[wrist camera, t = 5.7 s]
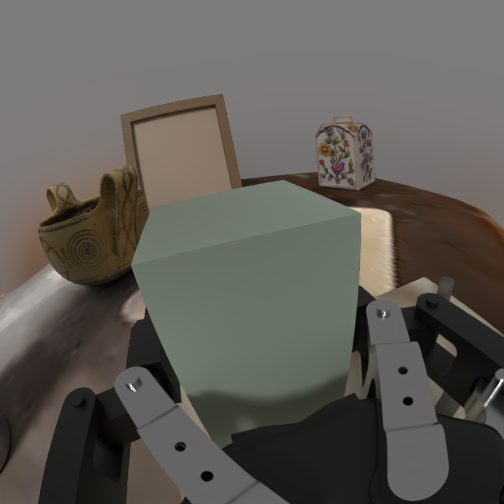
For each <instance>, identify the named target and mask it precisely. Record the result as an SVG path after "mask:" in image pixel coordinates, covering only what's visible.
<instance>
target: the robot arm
mask: <svg viewBox="0 0 504 504" xmlns="http://www.w3.org/2000/svg"><path fill="white" fill-rule="evenodd" d="M439 334H440V335H441V336H442V337H444V338H445V339H446V340H448V341H449V342H450V343H452V344H453V345H454V346H455V348H456V350H457V355H456V357H455V356H454V355H453V354H451V353H450V352H449V351H447V350H446V349H445V348H444V347H442V346H441V345H440V344H438V343H437V342H436V341H437V338H438V336H439ZM130 338H131V339H130V342H129V345H130V346H129V349H128V356H127V364H126V370H124V371H123V372H121V373H120V374H119V375H118V377H117V378H116V380H115V383H114V387H113V388H111V389H109V390H107V391H104V392H102V393H99V394H97V395H95V394H94V392H93V391H92V390H91V389H89V388H84V387H83V388H78V389H75V390H73V391H72V392H70V393H69V394H68V396H67V397H66V398H65V401H64V403H63V406H62V409H61V412H60V415H59V418H58V422H57V425H56V428H55V431H54V435H53V438H52V442H51V446H50V449H49V453H48V457H47V461H46V466H45V470H44V475H43V480H42V485H41V490H40V496H39V502H38V504H126V498H127V480H128V467H129V456H130V446H131V442H133V441H136V440H138V439H140V438H142V440H143V441H144V443H145V444H146V446H147V447H148V448H149V450H150V451H151V453H152V454H153V456H154V457H155V458H156V460H157V461H158V462H159V464H160V465H161V467H162V468H163V469H164V470H165V472H166V473H167V474H168V476H169V477H170V478H171V479H172V481H173V482H174V483H175V484H176V486H177V487H178V488H179V489H180V490H181V492H182V493H183V494H184V495H185V498H184V499H183V501H182V502H181V504H504V337H503V336H501V335H500V334H498V333H497V332H496V331H494V330H493V329H491V328H490V327H488V326H487V325H485V324H484V323H482V322H481V321H479V320H478V319H476V318H475V317H473V316H472V315H470V314H469V313H467V312H466V311H464V310H463V309H461V308H459V307H458V306H456V305H455V304H453V303H452V302H450V301H448V300H447V299H445V298H444V297H442V296H440V295H438V294H435V293H424V294H421V295H420V296H419V297H418V298H417V302H416V306H411V307H404V308H400V307H399V306H398V305H397V304H396V303H394V302H392V301H389V300H376V299H375V298H374V297H373V296H372V295H371V294H369V293H368V292H367V291H366V290H365V289H364V288H363V287H361V286H359V287H358V299H357V311H356V320H355V329H354V338H353V346H352V353H353V352H355V351H358V352H359V353H360V355H359V374H360V399H359V398H358V397H357V395H356V394H355V392H354V393H352V394H350V395H348V396H345V397H343V398H341V399H338V400H336V401H334V402H331V403H329V404H326V405H325V406H324V407H322V408H321V409H319V410H318V411H316V412H315V413H313V414H312V415H310V416H309V417H307V418H305V419H304V420H302V421H300V422H298V423H291V424H282V425H271V426H262V427H258V428H254V429H251V430H247V431H243V432H239V433H235V434H230V435H231V439H232V442H233V443H231V444H229V445H227V446H225V447H224V448H222V449H220V448H219V447H218V446H217V445H216V444H215V443H214V442H213V441H212V440H211V439H210V438H209V437H208V436H207V435H206V434H205V433H204V432H203V431H202V430H201V429H200V428H199V427H198V425H197V424H196V423H195V422H194V421H193V420H192V419H191V418H190V417H189V416H188V415H187V414H186V412H185V411H184V410H183V409H182V408H181V407H180V406H179V405H176V404H177V403H182V399H181V389H180V382H179V380H178V378H177V376H176V374H175V372H174V369H173V367H172V365H171V363H170V361H169V359H168V357H167V355H166V352H165V350H164V348H163V346H162V343H161V341H160V339H159V337H158V334H157V332H156V330H155V327H154V325H153V322H152V320H151V318H150V315H149V313H148V310H147V308H146V309H145V317H144V319H142V320H137V322H136V323H135V325H134V326H133V327H132V330H131V336H130ZM428 377H429V378H430V379H431V380H433V381H434V382H435V383H436V384H437V385H438V386H439V387H440V388H442V389H443V390H444V391H445V392H446V393H447V394H448V395H449V396H451V397H452V398H453V399H454V400H455V401H456V402H457V403H458V404H459V405H461V406H462V407H463V408H464V410H465V414H466V416H465V419H459V418H455V417H451V416H446V415H442V414H438V413H435V408H434V403H433V398H432V393H431V389H430V384H429V380H428ZM9 444H10V431H9V426H8V423H7V420H6V418H5V417H4V415H3V414H2V413H1V412H0V470H1V469H2V467H3V465H4V463H5V461H6V458H7V454H8V451H9Z"/></svg>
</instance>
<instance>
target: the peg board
mask: <svg viewBox="0 0 504 504" xmlns="http://www.w3.org/2000/svg"><path fill="white" fill-rule="evenodd" d="M454 282H455V281H454V279H453V278H451V277H449V276H442V277H441V278H440V282H439V286H437V285H436V284H434V283H433V282H431V281H430V280H428V279H427V278H425V277H423V278H421V279H419V280H416V281H414V282H412V283H409V284H407V285H404V286H402V287H400V288H397V289H395V290H392V291H390V292H387V293H385V294H382V295H380V296H377V297H375V299H376V300H389V301H392V302H394V303H396V304H397V305H398V306H399V307H400V308H404V307H411V306H416V302H417V298H418V297H419V296H420V295H421V294H424V293H435V294H438V295H440V296H442V297H444V298H445V299H447V300H448V301H450V302H452V303H453V304H455V305H456V306H458V307H459V308H461V309H463V310H464V311H466V312H467V313H469V314H470V315H472V316H473V317H475V318H476V319H478V320H479V321H481V322H482V323H484V324H485V325H487V326H488V327H490V328H491V329H493V330H494V331H496V332H497V333H498V334H500V335H501V336H503V337H504V335H503V334H502V333H501V332H499V331H498V330H497V329H496V328H494V327H493V326H492V325H490V324H489V323H488V322H487V321H485V320H484V319H483V318H481V317H480V316H479V315H477V314H476V313H475V312H473V311H472V310H471V309H469V308H468V307H467V306H465V305H464V304H463V303H461V302H460V301H458V300H457V299H456V298H454V297H453V296H451V294H452V290H453V286H454ZM436 342H437V343H438V344H440V345H441V346H442V347H444V348H445V349H446V350H447V351H449V352H450V353H451V354H453V355H454V356H455V357H456V355H457V350H456V348H455V346H454V345H453V344H452V343H450V342H449V341H448V340H446V339H445V338H444V337H442V336H441V335H440V334H439V336H438V338H437V341H436ZM359 355H360V353H359V352H358V351H355V352H353V353H351V360H350V366H349V373H348V379H347V384H346V390H345V395H344V397H345V396H348V395H350V394H352V393H354V392H355V394H356V395H357V397H358V398H359V399H360V374H359ZM428 380H429V384H430V389H431V393H432V398H433V403H434V408H435V413H438V414H442V415H446V416H451V417H455V418H459V419H465V416H466V414H465V410H464V408H463V407H462V406H461V405H459V404H458V403H457V402H456V401H455V400H454V399H453V398H452V397H451V396H449V395H448V394H447V393H446V392H445V391H444V390H443V389H442V388H440V387H439V386H438V385H437V384H436V383H435V382H434V381H433V380H431V379H430V378H429V377H428ZM180 389H181V399H182V403H177V404H176V405H179V406H180V407H181V408H182V409H183V410H184V411H185V412H186V414H187V415H188V416H189V417H190V418H191V419H192V420H193V421H194V422H195V423H196V424H197V425H198V427H199V428H200V429H201V430H202V431H203V432H204V433H205V434H206V435H207V436H208V437H209V438H210V436H209V434H208V433H207V431H206V429H205V428H204V426H203V424H202V423H201V421H200V419H199V417H198V416H197V414H196V412H195V410H194V408H193V406H192V405H191V403H190V401H189V399H188V397H187V395H186V393H185V391H184V389H183V388H182V386H181V384H180ZM210 439H211V438H210ZM211 440H212V439H211ZM180 493H181V499H182V501H183V499H184V498H185V495H184V494H183V493H182V492H181V490H180Z"/></svg>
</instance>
